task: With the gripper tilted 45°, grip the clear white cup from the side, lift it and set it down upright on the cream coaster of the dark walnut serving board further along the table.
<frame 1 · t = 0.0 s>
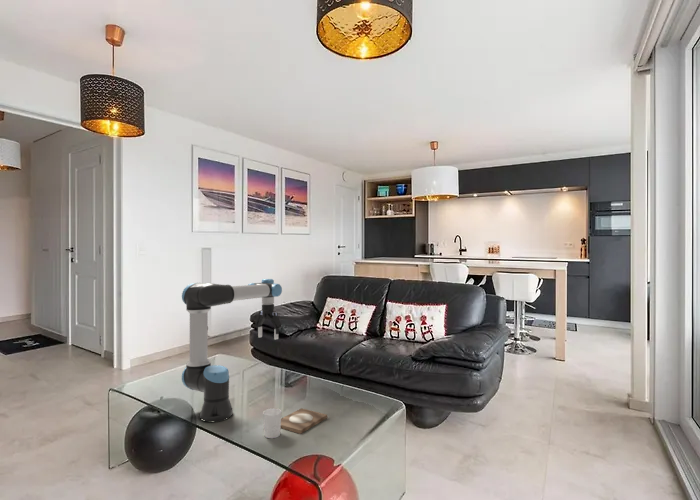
hand: (268, 338, 236), 28 cm above the table, tool pointing down, fingers open, 13 cm apart
white cup: (272, 435, 165), on the table
serving board: (301, 421, 178), on the table
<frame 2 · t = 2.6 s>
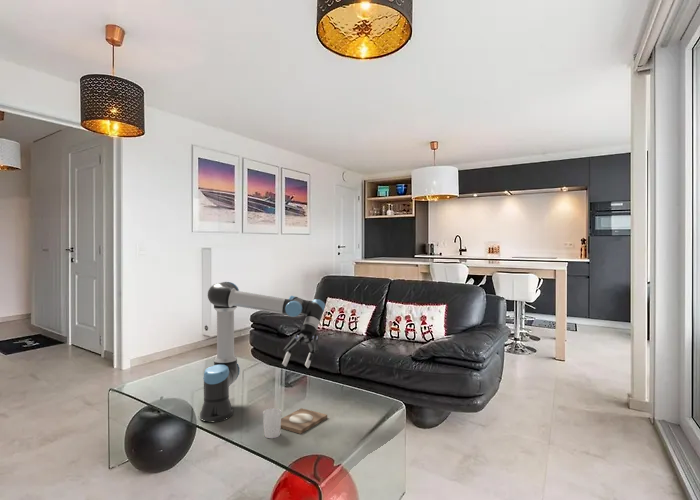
hand: (295, 365, 182), 25 cm above the table, tool tilted 40°, fingers open, 13 cm apart
nothing on the table moved.
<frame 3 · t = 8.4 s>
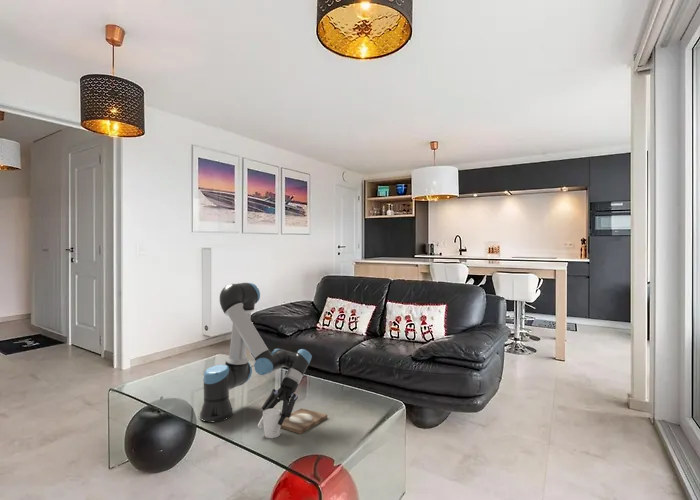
hand: (266, 429, 162), 4 cm above the table, tool tilted 45°, fingers closed on white cup, 8 cm apart
white cup: (272, 435, 165), on the table, touching gripper
when the fingers open (7 cm above the table, at t = 13.4 s): white cup drops 1 cm, resting on serving board.
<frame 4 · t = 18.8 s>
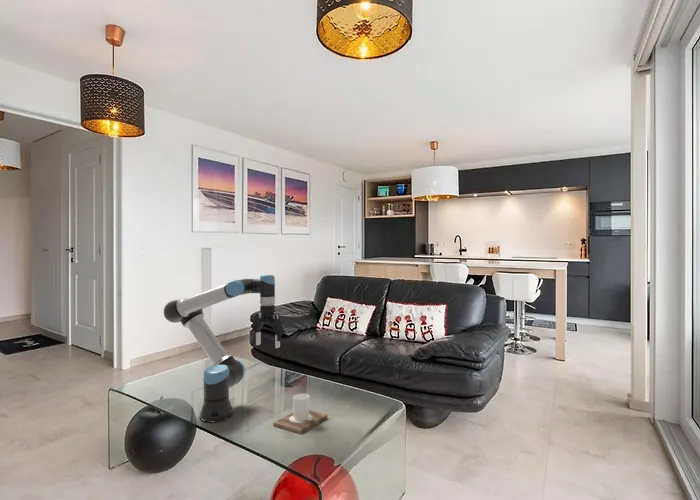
hand: (267, 346, 196), 32 cm above the table, tool pointing down, fingers open, 13 cm apart
white cup: (301, 418, 178), point 1 cm above the table, touching serving board
at the end: white cup inside the target area on the serving board (0.1 cm from its centre), point 1.5 cm above the serving board's base; white cup tilted 0°; the gripper is holding nothing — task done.
